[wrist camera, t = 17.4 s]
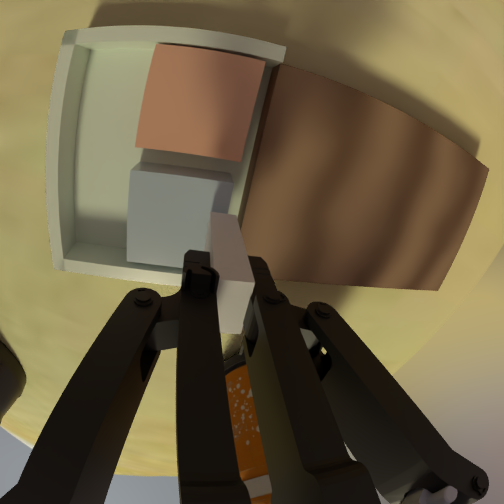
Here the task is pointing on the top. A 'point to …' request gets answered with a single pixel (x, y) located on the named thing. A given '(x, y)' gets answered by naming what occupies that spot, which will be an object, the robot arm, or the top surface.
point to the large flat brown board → (353, 189)
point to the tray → (121, 141)
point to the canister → (246, 431)
